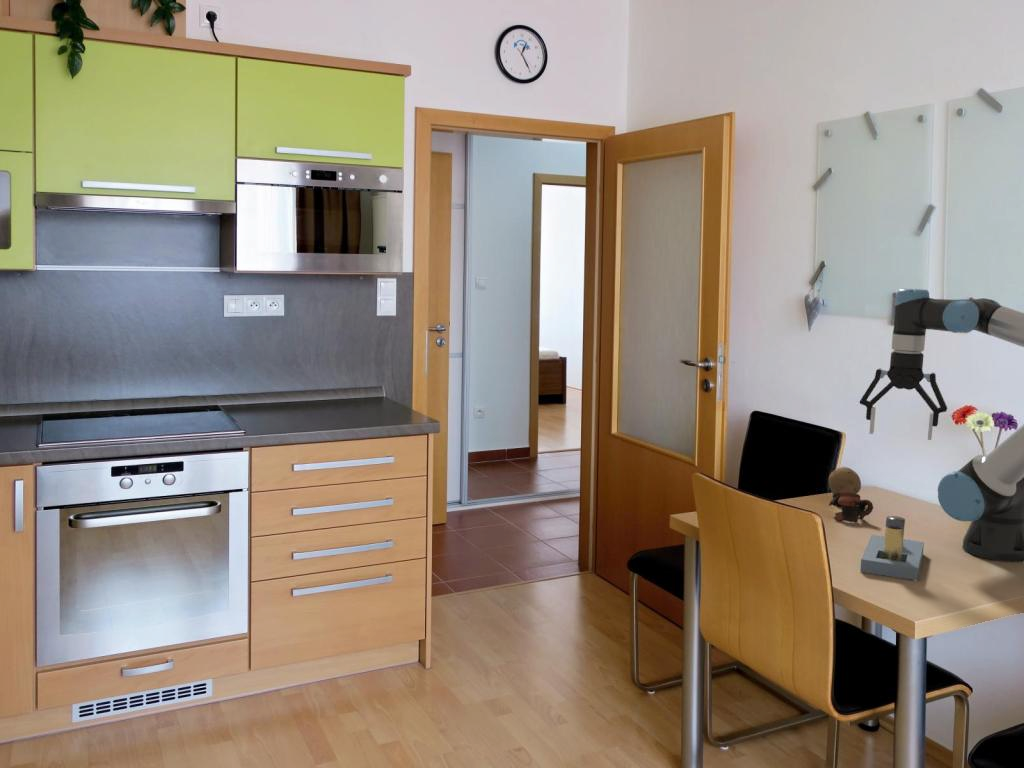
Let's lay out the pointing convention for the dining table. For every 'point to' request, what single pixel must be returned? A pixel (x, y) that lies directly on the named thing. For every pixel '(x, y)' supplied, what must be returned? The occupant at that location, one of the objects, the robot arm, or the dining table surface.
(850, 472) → the natural sponge
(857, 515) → the pottery mug
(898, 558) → the spice jar
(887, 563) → the block
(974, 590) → the dining table surface
